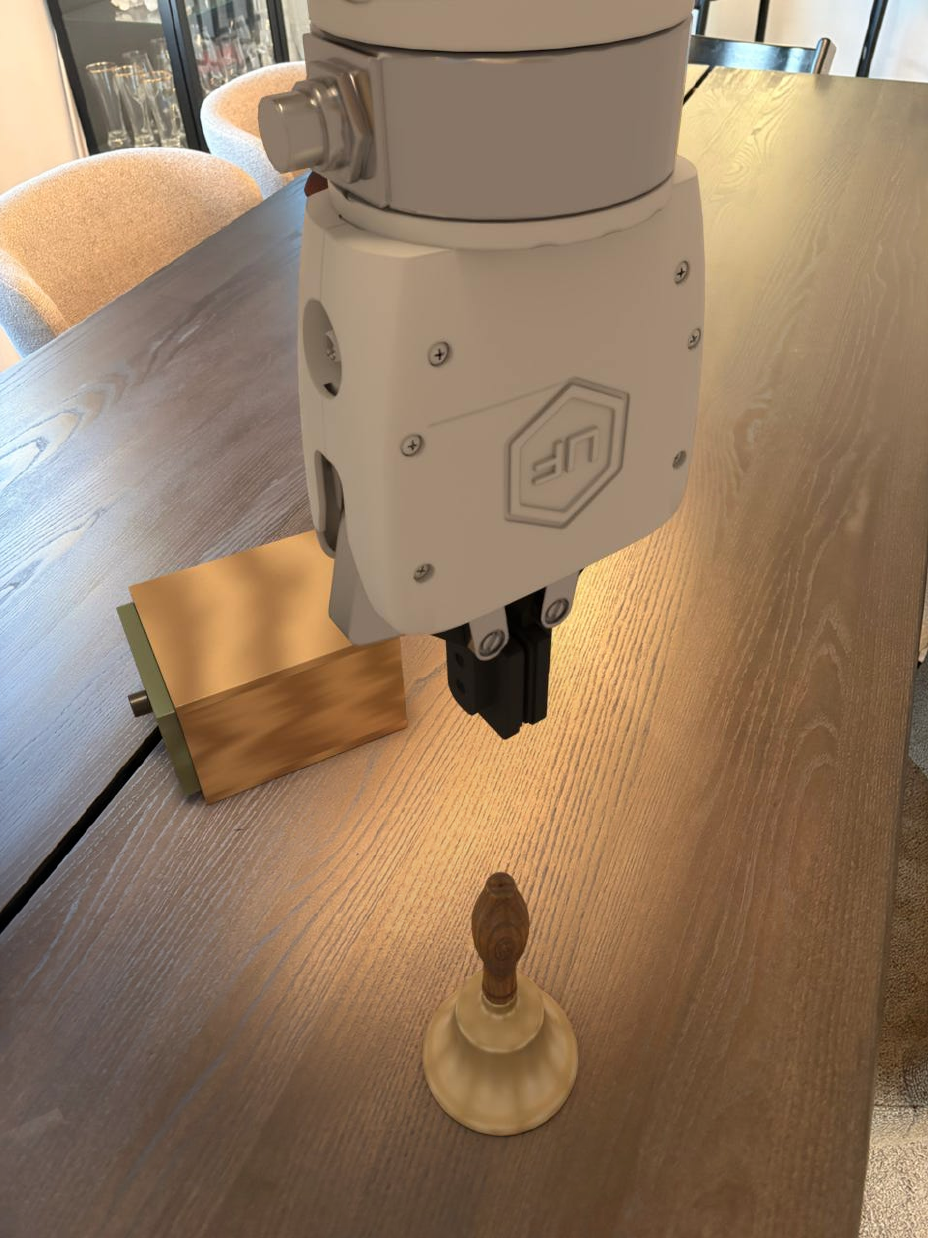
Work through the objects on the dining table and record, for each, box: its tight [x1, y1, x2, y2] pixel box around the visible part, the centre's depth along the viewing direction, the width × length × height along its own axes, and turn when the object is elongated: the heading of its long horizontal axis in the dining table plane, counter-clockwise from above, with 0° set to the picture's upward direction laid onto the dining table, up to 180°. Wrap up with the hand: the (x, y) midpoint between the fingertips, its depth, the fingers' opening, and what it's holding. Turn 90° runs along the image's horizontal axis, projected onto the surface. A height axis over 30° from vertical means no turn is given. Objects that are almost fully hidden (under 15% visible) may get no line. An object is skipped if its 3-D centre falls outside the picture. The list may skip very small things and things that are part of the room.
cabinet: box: [128, 528, 408, 806], centre depth 66 cm, size 15×13×10 cm
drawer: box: [115, 601, 202, 798], centre depth 66 cm, size 15×11×8 cm
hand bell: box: [421, 871, 580, 1137], centre depth 45 cm, size 8×8×16 cm
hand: (498, 703), depth 32 cm, fingers closed
